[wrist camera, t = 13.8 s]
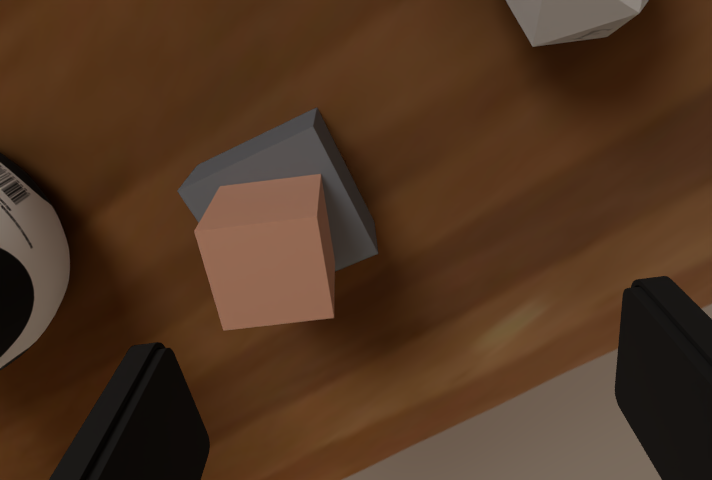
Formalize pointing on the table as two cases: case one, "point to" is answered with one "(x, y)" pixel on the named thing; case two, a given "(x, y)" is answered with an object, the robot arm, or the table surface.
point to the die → (572, 18)
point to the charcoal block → (293, 159)
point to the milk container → (28, 262)
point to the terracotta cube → (269, 252)
